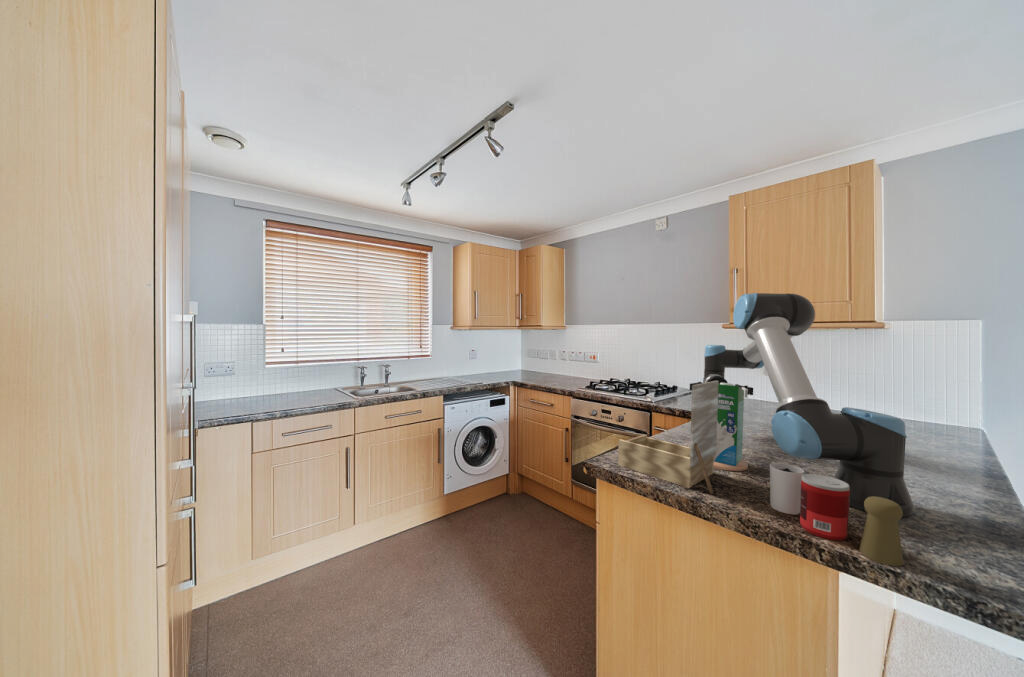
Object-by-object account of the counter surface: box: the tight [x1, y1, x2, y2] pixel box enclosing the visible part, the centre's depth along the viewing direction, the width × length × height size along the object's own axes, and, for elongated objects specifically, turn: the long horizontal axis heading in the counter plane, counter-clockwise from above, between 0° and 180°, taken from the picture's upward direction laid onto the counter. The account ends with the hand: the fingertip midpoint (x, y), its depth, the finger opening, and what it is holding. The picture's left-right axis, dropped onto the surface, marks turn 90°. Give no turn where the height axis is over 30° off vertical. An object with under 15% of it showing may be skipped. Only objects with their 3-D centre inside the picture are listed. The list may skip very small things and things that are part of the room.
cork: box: [858, 496, 905, 567], centre depth 70 cm, size 6×6×11 cm
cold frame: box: [617, 381, 719, 495], centre depth 111 cm, size 28×17×28 cm, turn 41°
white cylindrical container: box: [769, 462, 805, 515], centre depth 89 cm, size 7×7×10 cm
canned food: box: [799, 473, 850, 541], centre depth 79 cm, size 8×8×11 cm
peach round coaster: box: [714, 459, 749, 472], centre depth 120 cm, size 13×13×1 cm
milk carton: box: [714, 382, 745, 466], centre depth 120 cm, size 9×9×25 cm
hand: (723, 392), depth 127 cm, fingers open, 13 cm apart
